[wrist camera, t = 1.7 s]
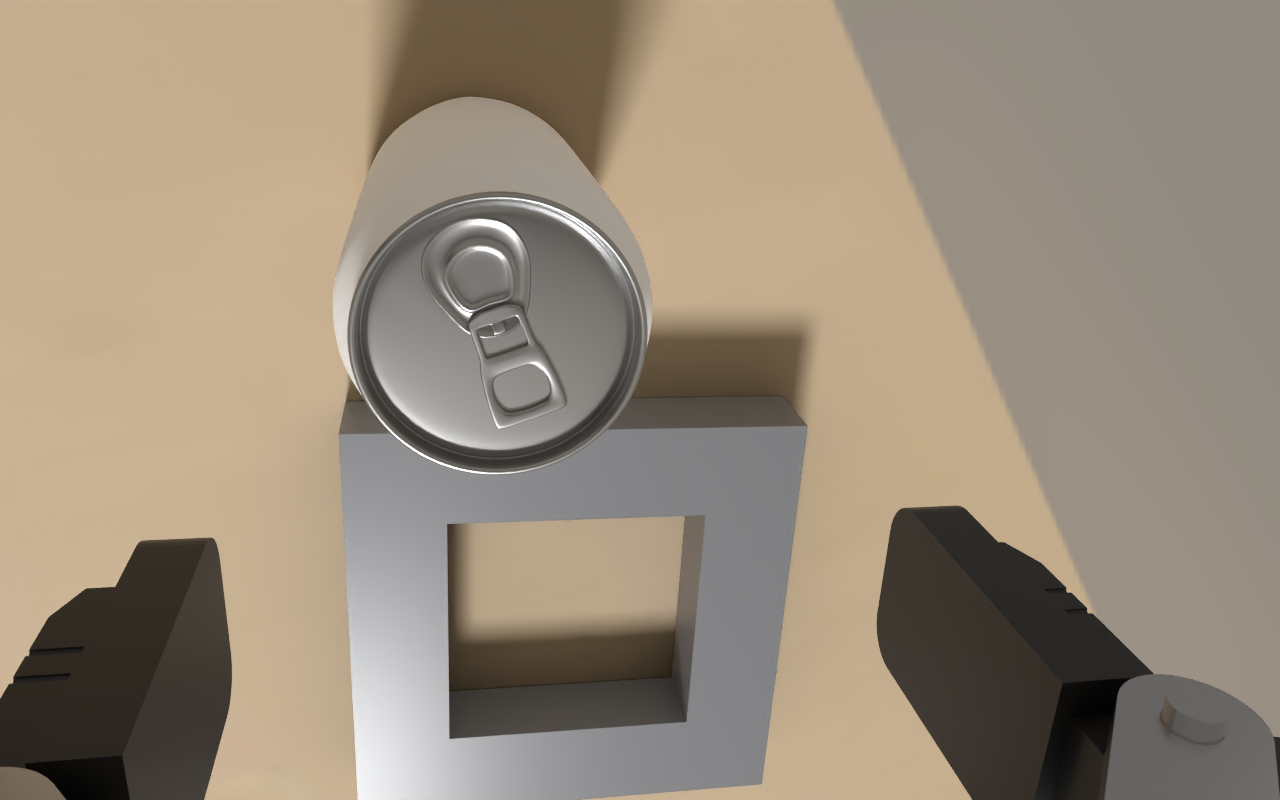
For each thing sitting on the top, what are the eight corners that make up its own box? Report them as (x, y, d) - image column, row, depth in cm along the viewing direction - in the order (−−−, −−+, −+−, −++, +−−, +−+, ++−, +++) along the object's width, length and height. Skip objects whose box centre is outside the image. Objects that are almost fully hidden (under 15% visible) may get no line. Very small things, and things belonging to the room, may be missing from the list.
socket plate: (363, 766, 37) (358, 818, 35) (345, 401, 32) (338, 434, 30) (742, 737, 40) (761, 784, 37) (783, 396, 35) (807, 425, 32)
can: (547, 63, 29) (613, 118, 18) (614, 274, 32) (707, 431, 21) (327, 136, 29) (261, 236, 18) (413, 343, 32) (401, 539, 21)
